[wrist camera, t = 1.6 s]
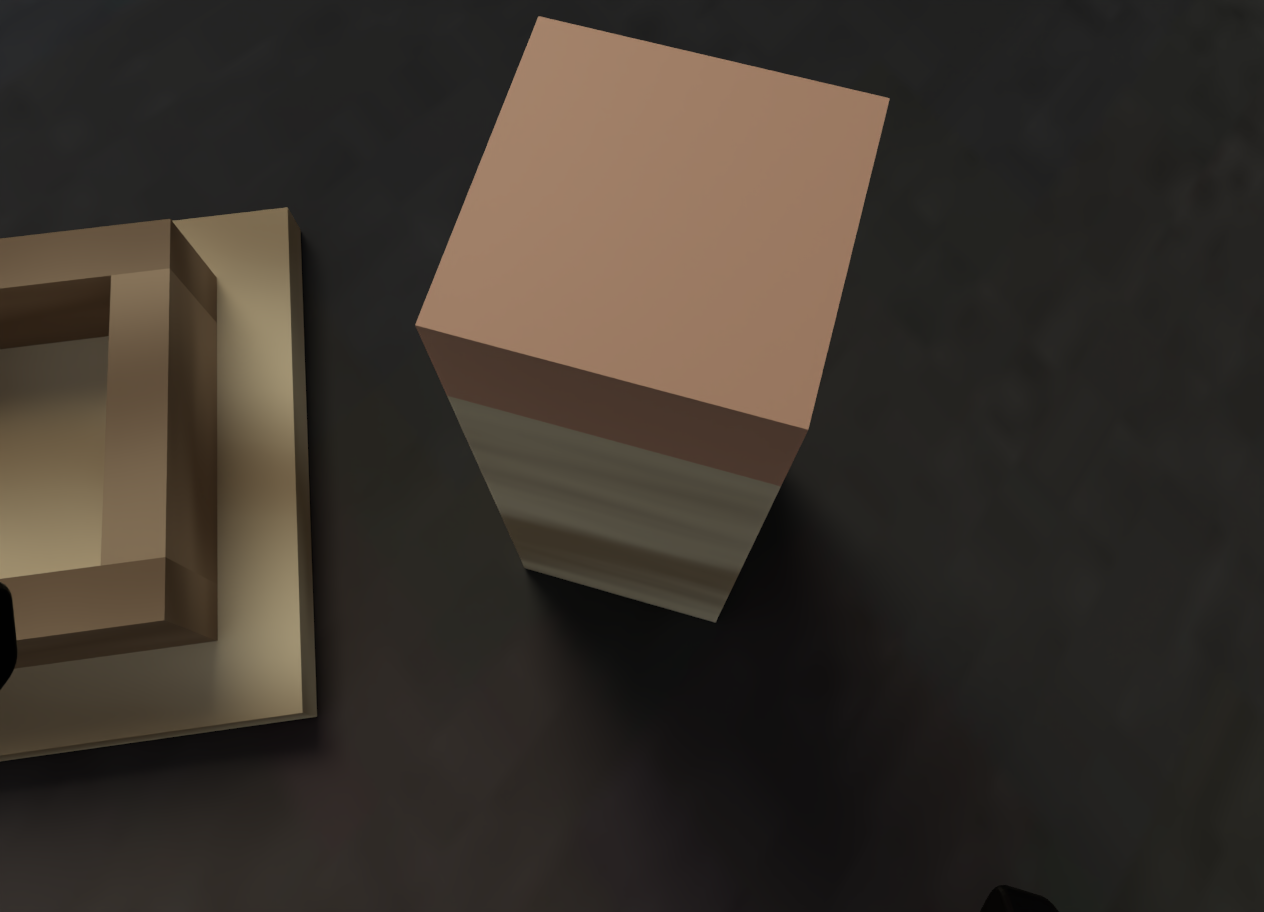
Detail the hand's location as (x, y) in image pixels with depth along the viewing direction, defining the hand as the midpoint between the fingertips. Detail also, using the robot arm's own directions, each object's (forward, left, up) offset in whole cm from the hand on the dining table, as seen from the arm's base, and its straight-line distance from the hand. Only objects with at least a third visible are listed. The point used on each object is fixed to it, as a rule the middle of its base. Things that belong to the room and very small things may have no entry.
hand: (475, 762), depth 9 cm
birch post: (+3, -5, -13) cm, 14 cm away
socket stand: (+13, +5, -13) cm, 19 cm away
